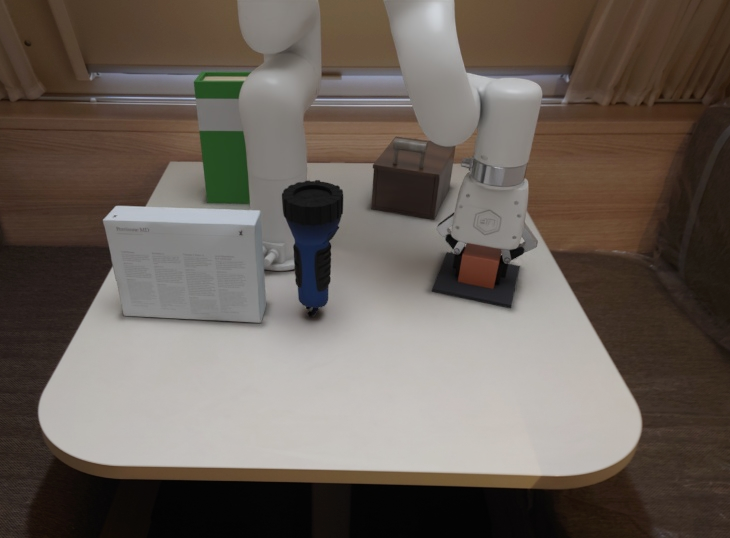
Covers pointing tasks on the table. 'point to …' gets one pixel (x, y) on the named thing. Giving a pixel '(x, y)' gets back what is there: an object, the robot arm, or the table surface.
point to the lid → (414, 157)
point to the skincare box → (188, 262)
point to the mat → (496, 296)
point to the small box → (479, 265)
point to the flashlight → (313, 236)
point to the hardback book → (222, 136)
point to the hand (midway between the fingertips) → (478, 275)
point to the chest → (410, 192)
